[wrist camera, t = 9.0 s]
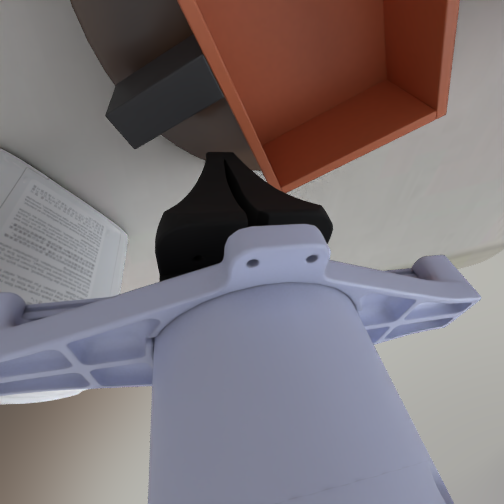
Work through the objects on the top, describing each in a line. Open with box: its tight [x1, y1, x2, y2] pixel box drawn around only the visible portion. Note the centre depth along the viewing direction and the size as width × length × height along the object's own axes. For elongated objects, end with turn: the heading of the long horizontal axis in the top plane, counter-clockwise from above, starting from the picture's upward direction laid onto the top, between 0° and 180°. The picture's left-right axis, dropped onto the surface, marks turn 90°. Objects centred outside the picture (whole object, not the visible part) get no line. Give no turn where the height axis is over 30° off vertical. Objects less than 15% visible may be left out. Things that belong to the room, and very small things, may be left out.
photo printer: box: [0, 149, 128, 404], centre depth 15 cm, size 10×4×12 cm, turn 31°
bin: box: [105, 0, 460, 193], centre depth 11 cm, size 13×13×5 cm
